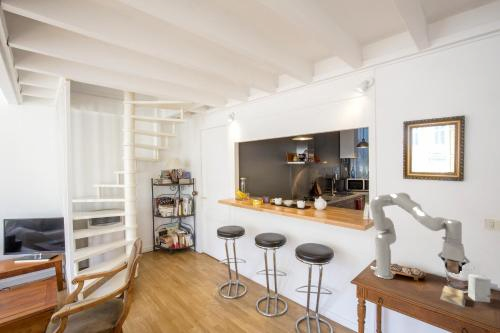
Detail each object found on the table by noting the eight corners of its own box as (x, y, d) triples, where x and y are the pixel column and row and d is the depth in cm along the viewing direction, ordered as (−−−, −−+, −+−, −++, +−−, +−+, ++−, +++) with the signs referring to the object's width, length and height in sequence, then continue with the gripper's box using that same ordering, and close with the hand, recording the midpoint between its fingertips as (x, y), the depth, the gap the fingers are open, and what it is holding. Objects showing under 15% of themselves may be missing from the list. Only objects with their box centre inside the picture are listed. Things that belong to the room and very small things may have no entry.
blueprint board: (430, 298, 144) (430, 296, 144) (434, 290, 154) (434, 288, 154) (475, 313, 130) (475, 311, 130) (476, 303, 139) (476, 301, 139)
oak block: (442, 299, 142) (442, 290, 142) (444, 293, 148) (444, 285, 148) (462, 305, 135) (462, 296, 135) (463, 299, 142) (463, 291, 142)
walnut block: (447, 271, 142) (447, 260, 142) (448, 269, 145) (448, 257, 145) (458, 274, 138) (458, 262, 138) (459, 271, 141) (459, 260, 141)
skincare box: (474, 302, 140) (475, 278, 140) (467, 297, 146) (467, 273, 146) (491, 304, 138) (491, 279, 138) (482, 298, 144) (483, 274, 144)
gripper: (434, 238, 145) (434, 267, 145) (472, 245, 133) (472, 277, 133) (436, 236, 150) (436, 264, 150) (473, 242, 138) (472, 273, 138)
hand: (453, 270), depth 142 cm, fingers closed on walnut block, 5 cm apart
